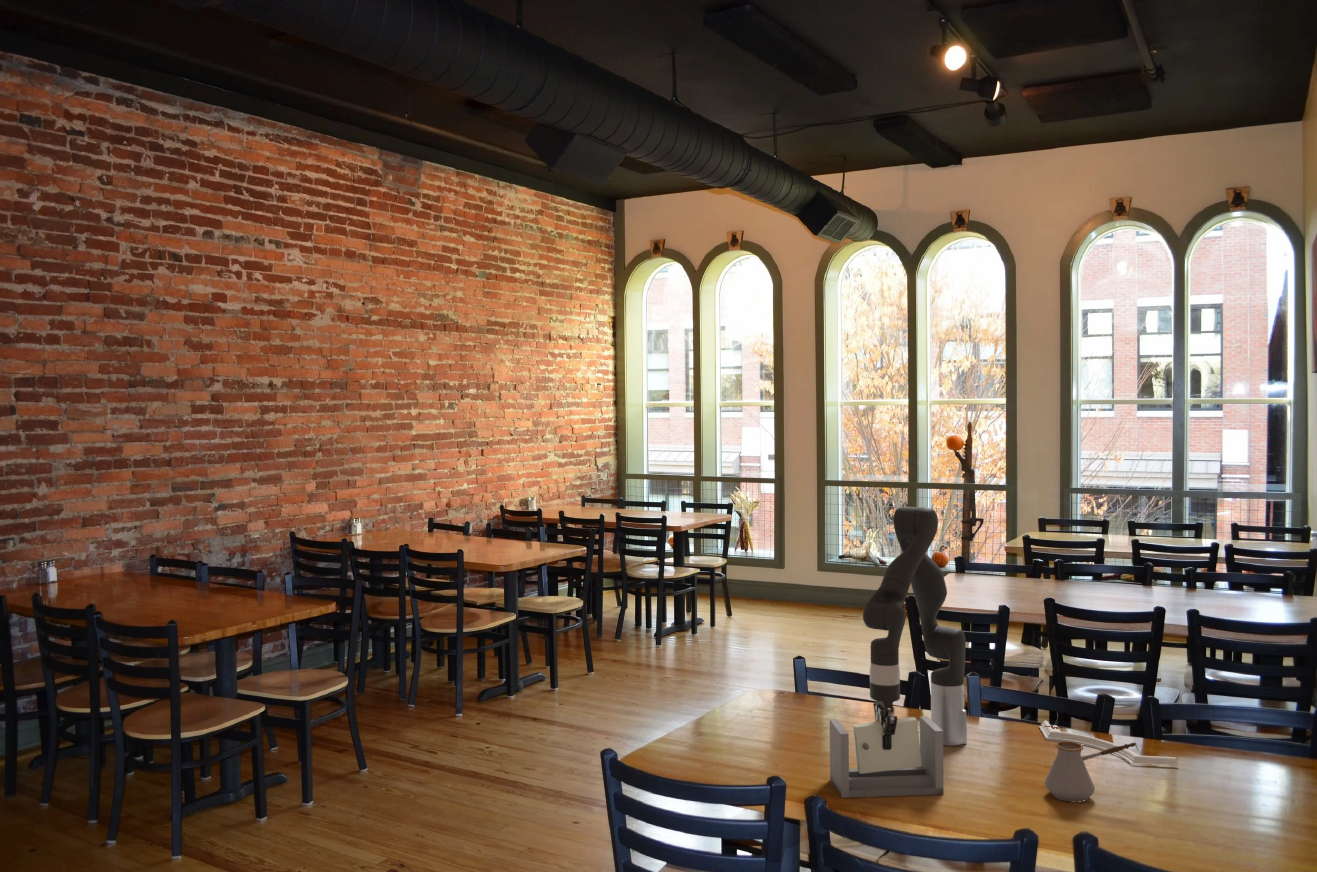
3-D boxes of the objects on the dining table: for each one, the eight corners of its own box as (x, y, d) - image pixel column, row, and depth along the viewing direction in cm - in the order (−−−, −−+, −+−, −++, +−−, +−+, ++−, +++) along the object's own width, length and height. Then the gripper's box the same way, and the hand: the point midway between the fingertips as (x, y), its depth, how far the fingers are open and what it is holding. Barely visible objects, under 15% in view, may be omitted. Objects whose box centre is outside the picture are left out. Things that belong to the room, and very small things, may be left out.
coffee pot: (1045, 802, 239) (1045, 741, 238) (1043, 785, 249) (1043, 727, 249) (1142, 813, 231) (1141, 750, 231) (1136, 795, 242) (1135, 735, 242)
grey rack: (927, 776, 256) (927, 716, 256) (943, 794, 244) (943, 730, 244) (830, 779, 255) (829, 719, 255) (841, 797, 243) (840, 733, 243)
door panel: (918, 762, 251) (914, 716, 251) (923, 767, 248) (918, 720, 248) (857, 770, 250) (853, 724, 250) (861, 775, 247) (856, 728, 247)
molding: (1185, 767, 262) (1185, 757, 262) (1160, 776, 256) (1160, 765, 256) (1046, 727, 298) (1046, 717, 298) (1021, 734, 291) (1021, 724, 291)
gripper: (907, 687, 242) (908, 756, 243) (891, 672, 256) (891, 738, 257) (877, 687, 242) (878, 757, 242) (863, 673, 256) (863, 738, 256)
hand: (885, 746), depth 249 cm, fingers closed on door panel, 2 cm apart
